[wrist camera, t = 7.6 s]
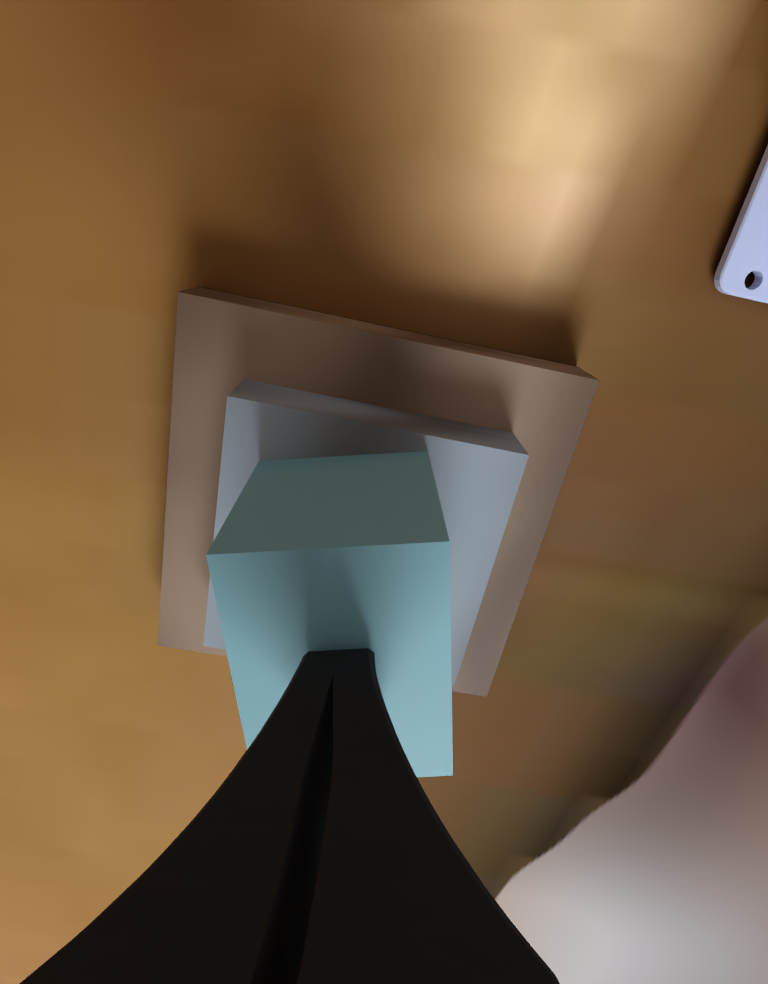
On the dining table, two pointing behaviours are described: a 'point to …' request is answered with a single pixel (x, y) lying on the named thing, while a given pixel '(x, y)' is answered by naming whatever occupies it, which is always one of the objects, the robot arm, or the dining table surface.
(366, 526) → the teal brick
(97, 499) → the dining table surface
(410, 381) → the tower base
